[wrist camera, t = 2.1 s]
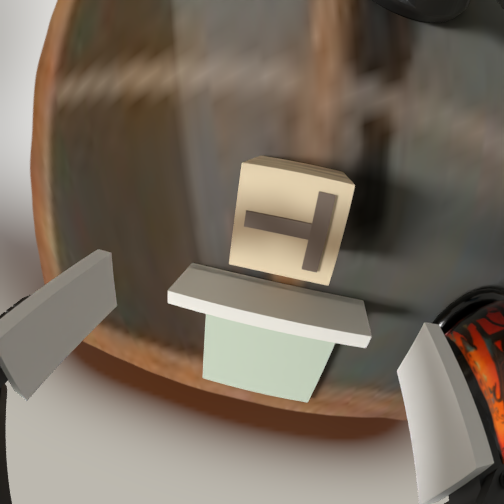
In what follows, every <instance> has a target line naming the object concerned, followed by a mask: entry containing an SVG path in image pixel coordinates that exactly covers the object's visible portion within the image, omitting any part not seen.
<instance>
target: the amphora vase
mask: <svg viewBox="0 0 504 504" xmlns="http://www.w3.org/2000/svg"><path fill="white" fill-rule="evenodd" d="M433 324H439V326H440V328H441V330H442V331H443V333H444V335H445V337H446V339H447V341H448V343H449V345H450V347H451V349H452V352H453V354H454V356H455V358H456V360H457V362H458V364H459V367H460V369H461V371H462V373H463V375H464V378H465V380H466V382H467V385H468V387H469V390H470V392H471V395H472V397H476V398H477V400H478V401H479V402H480V404H481V405H482V406H483V408H484V411H485V413H486V416H487V421H488V422H489V424H490V430H492V433H493V436H494V439H495V443H496V446H497V449H498V452H499V456H500V460H501V462H502V464H504V293H503V292H502V291H501V290H497V289H492V288H487V289H480V290H476V291H474V292H471V293H469V294H466V295H464V296H462V297H461V298H459V299H458V300H456V301H455V302H453V303H452V304H450V305H449V306H448V307H447V308H446V309H445V310H444V311H443V312H441V313H440V314H439V315H438V316H437V318H436V319H435V320H434V322H433Z"/></svg>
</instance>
